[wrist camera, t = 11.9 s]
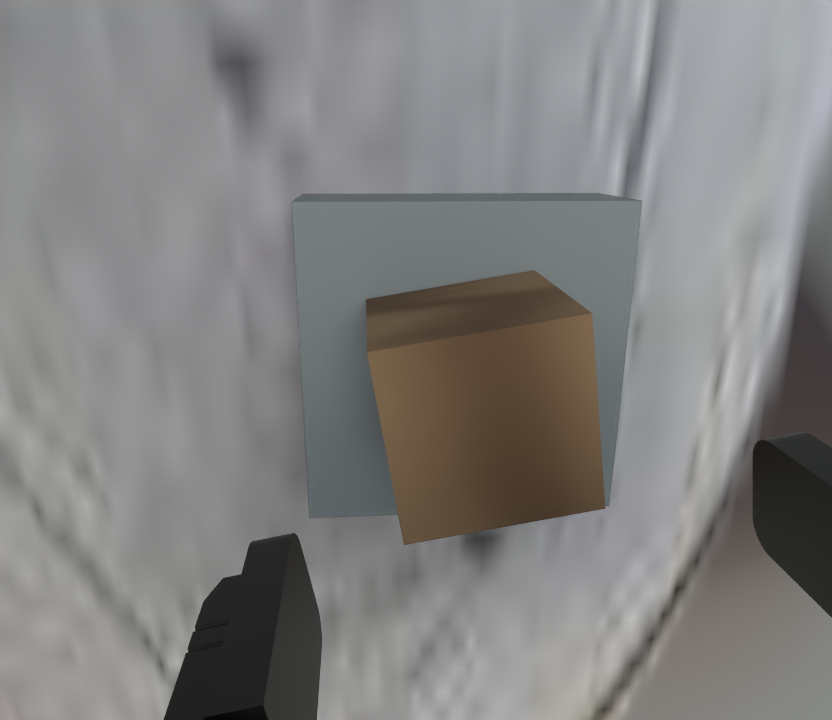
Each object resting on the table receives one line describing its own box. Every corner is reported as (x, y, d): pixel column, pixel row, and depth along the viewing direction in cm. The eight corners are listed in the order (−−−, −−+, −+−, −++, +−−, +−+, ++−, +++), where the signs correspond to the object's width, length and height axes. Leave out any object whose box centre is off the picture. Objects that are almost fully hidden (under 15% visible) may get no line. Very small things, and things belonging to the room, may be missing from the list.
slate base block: (317, 461, 25) (309, 517, 21) (304, 193, 21) (291, 202, 18) (572, 452, 25) (609, 505, 22) (594, 192, 22) (642, 200, 18)
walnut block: (394, 451, 20) (404, 544, 16) (366, 299, 19) (366, 352, 14) (549, 423, 20) (605, 508, 16) (534, 270, 19) (592, 312, 14)
